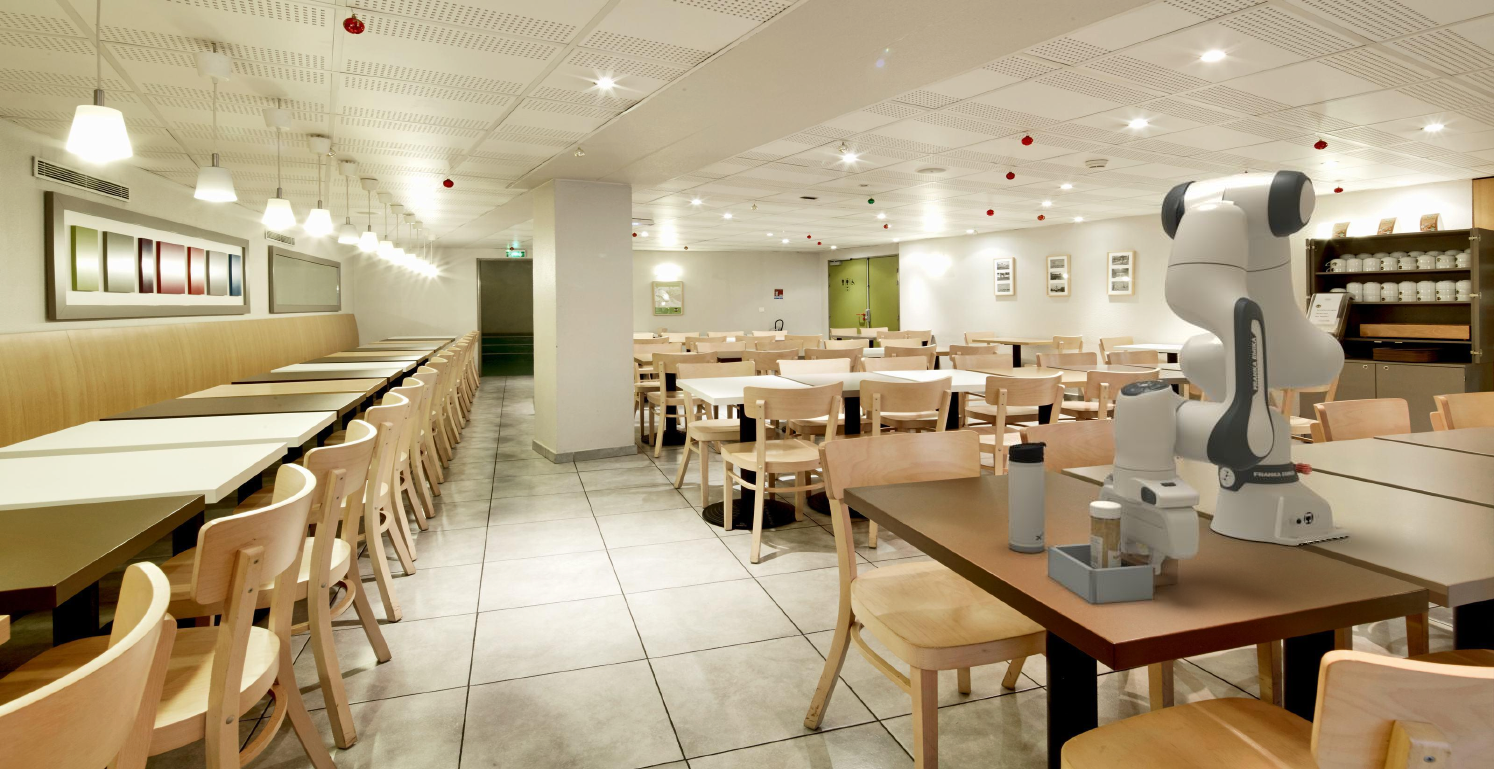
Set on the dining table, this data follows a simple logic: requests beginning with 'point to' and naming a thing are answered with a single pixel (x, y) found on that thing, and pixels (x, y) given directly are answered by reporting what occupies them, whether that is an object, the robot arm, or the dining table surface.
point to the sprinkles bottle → (1105, 534)
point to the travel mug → (1026, 497)
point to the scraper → (1167, 568)
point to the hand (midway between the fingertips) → (1143, 568)
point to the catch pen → (1098, 576)
